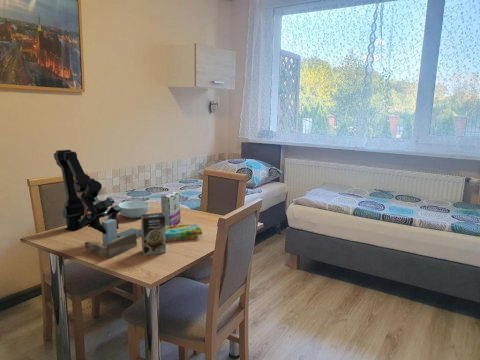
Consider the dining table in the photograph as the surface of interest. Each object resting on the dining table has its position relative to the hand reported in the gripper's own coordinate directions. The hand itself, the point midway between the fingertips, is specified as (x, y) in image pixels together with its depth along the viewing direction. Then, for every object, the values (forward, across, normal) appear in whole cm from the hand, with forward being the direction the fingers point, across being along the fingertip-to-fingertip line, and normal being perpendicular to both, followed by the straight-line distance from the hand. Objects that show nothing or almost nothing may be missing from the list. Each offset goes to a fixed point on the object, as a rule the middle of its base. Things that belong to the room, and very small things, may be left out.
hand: (111, 231), depth 155 cm
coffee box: (+19, +4, -10) cm, 22 cm away
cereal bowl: (-11, +36, +21) cm, 43 cm away
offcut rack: (+7, -3, +3) cm, 8 cm away
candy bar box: (+8, +35, +2) cm, 36 cm away
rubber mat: (+3, +14, +6) cm, 16 cm away
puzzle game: (+18, +23, -8) cm, 31 cm away
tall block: (+4, 0, +6) cm, 7 cm away
